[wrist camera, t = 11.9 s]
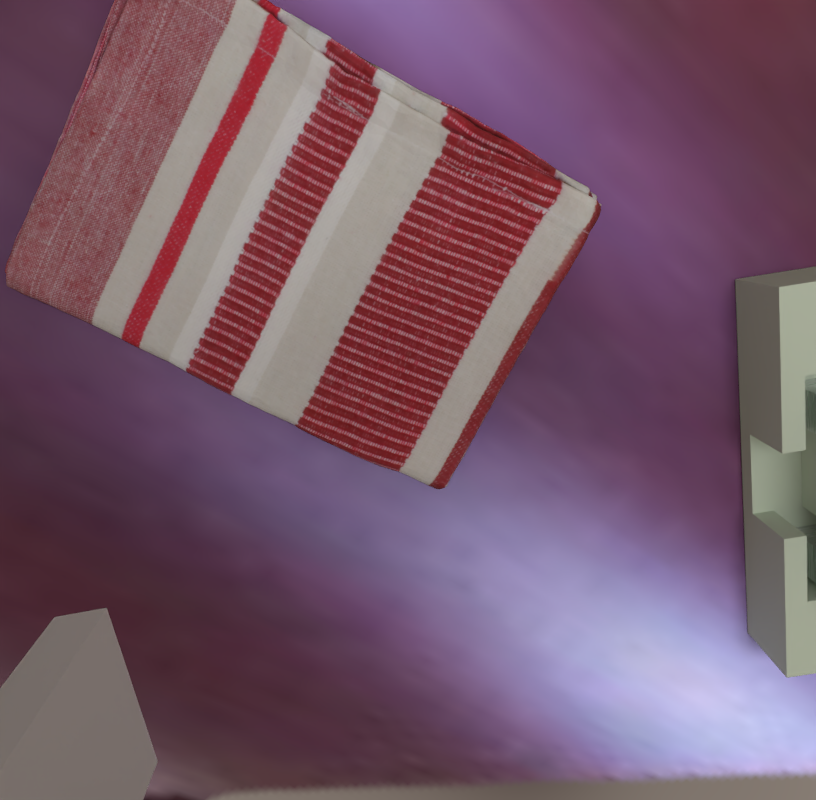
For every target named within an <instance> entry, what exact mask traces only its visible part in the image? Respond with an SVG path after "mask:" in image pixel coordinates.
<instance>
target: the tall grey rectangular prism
mask: <svg viewBox="0 0 816 800" xmlns="http://www.w3.org/2000/svg"><path fill="white" fill-rule="evenodd" d="M805 420H806V429H807V430H809V431H811V432H813V433H815V434H816V378H811V379H805ZM796 528H797V529H799V530H800V531H801V532H802V533H804V534H805V535H806V536H807V576H808V577H809V578H810V579H811V580H812V581H814V582H815V583H816V524H813V525H807V526H801V527H796Z"/></svg>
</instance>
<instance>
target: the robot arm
mask: <svg viewBox="0 0 816 800" xmlns="http://www.w3.org/2000/svg"><path fill="white" fill-rule="evenodd" d="M157 762H158V761H157V758H156V755H155V752H154V749H153V746H152V743H151V740H150V737H149V734H148V731H147V728H146V725H145V722H144V719H143V716H142V713H141V710H140V707H139V704H138V701H137V698H136V695H135V692H134V689H133V686H132V683H131V680H130V677H129V674H128V671H127V668H126V664H125V661H124V658H123V655H122V652H121V649H120V646H119V643H118V640H117V637H116V634H115V631H114V628H113V625H112V622H111V619H110V616H109V613H108V610H107V608H103V609H97V610H92V611H86V612H81V613H75V614H69V615H64V616H58V617H54V618H53V620H52V621H51V622H50V624H49V625H48V626H47V628H46V629H45V630H44V632H43V633H42V634H41V636H40V637H39V638H38V639H37V641H36V642H35V643H34V645H33V646H32V647H31V649H30V650H29V651H28V653H27V654H26V655H25V656H24V658H23V659H22V660H21V662H20V663H19V664H18V666H17V667H16V668H15V670H14V671H13V672H12V674H11V675H10V676H9V677H8V679H7V680H6V681H5V683H4V684H3V685H2V687H1V688H0V800H143V798H144V796H145V793H146V790H147V788H148V785H149V783H150V780H151V777H152V775H153V772H154V769H155V767H156V764H157Z"/></svg>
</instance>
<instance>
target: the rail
mask: <svg viewBox="0 0 816 800" xmlns="http://www.w3.org/2000/svg"><path fill="white" fill-rule="evenodd" d="M735 286H736V314H737V342H738V371H739V399H740V427H741V455H742V483H743V511H744V539H745V568H746V596H747V624H748V634H749V635H750V636H751V637H752V638H753V639H754V640H755V642H756V643H757V644H758V645H759V646H760V647H761V648H762V650H763V651H764V652H765V653H766V654H767V655H768V657H769V658H770V659H771V660H772V661H773V662H774V663H775V665H776V666H777V667H778V668H779V669H780V670H781V672H782V673H783V674H784V675H785V676H786V677H787V678H788V677H794V676H801V675H807V674H814V673H816V583H815V582H814V581H812V580H811V579H810V578H809V577H808V576H807V536H806V535H805V534H804V533H802V532H801V531H800V530H799V529H797V528H796V527H801V526H807V525H813V524H816V434H815V433H813V432H811V431H809V430H807V429H806V420H805V379H811V378H816V266H815V267H809V268H803V269H797V270H790V271H784V272H778V273H772V274H765V275H759V276H753V277H746V278H740V279H735Z"/></svg>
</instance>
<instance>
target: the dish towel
mask: <svg viewBox="0 0 816 800" xmlns="http://www.w3.org/2000/svg"><path fill="white" fill-rule="evenodd" d="M596 199H597V196H596V195H595V194H593V193H591V192H590V189H589V188H588V187H586V186H585V185H583V184H581V183H579V182H577V181H575V180H573V179H571V178H570V177H568V176H566V175H564V174H563V173H561V172H560V171H558V170H557V169H555V168H554V167H552V166H551V165H549V164H548V163H547V162H546V161H544V160H543V159H541V158H539V157H538V156H537V155H535V154H534V153H532V152H531V151H529V150H527V149H526V148H525V147H523V146H522V145H520V144H518V143H517V142H515V141H513V140H511V139H510V138H508V137H507V136H505V135H504V134H502V133H500V132H498V131H496V130H494V129H492V128H490V127H488V126H487V125H484V124H482V123H481V122H480V121H478V120H477V119H475V118H473V117H471V116H470V115H468V114H467V113H465V112H463V111H461V110H460V109H458V108H456V107H454V106H451V105H449V104H446V103H444V102H442V101H440V100H439V99H436V98H434V97H432V96H430V95H428V94H426V93H424V92H422V91H420V90H418V89H416V88H415V87H413V86H411V85H409V84H408V83H406V82H404V81H402V80H401V79H399V78H397V77H395V76H394V75H392V74H390V73H388V72H387V71H385V70H383V69H381V68H380V67H378V66H376V65H374V64H372V63H370V62H368V61H366V60H365V59H363V58H361V57H360V56H358V55H357V54H355V53H354V52H352V51H351V50H349V49H348V48H346V47H344V46H343V45H341V44H340V43H338V42H336V41H335V40H333V39H332V38H331V37H329V36H328V35H326V34H324V33H323V32H321V31H319V30H317V29H315V28H314V27H312V26H310V25H308V24H306V23H305V22H303V21H302V20H300V19H299V18H297V17H295V16H293V15H292V14H290V13H288V12H286V11H284V10H283V9H281V8H279V7H276V6H275V5H273V4H272V3H270V2H269V1H267V0H115V1H114V3H113V5H112V7H111V10H110V13H109V15H108V18H107V20H106V22H105V25H104V27H103V30H102V32H101V35H100V37H99V40H98V43H97V46H96V49H95V51H94V54H93V57H92V60H91V63H90V65H89V68H88V71H87V73H86V76H85V78H84V81H83V83H82V86H81V89H80V91H79V92H78V94H77V96H76V98H75V101H74V104H73V106H72V108H71V110H70V113H69V116H68V119H67V121H66V124H65V126H64V129H63V132H62V135H61V137H60V138H59V140H58V143H57V146H56V148H55V151H54V153H53V156H52V159H51V161H50V164H49V166H48V168H47V170H46V172H45V175H44V177H43V179H42V182H41V184H40V186H39V188H38V190H37V192H36V194H35V197H34V199H33V202H32V204H31V206H30V209H29V211H28V214H27V216H26V218H25V221H24V223H23V225H22V227H21V229H20V231H19V233H18V235H17V237H16V239H15V242H14V245H13V249H12V252H11V254H10V256H9V259H8V261H7V264H6V269H5V273H6V284H7V286H8V287H10V288H12V289H15V290H17V291H18V292H20V293H22V294H24V295H27V296H29V297H32V298H34V299H37V300H39V301H41V302H43V303H45V304H48V305H51V306H53V307H55V308H57V309H59V310H61V311H63V312H65V313H68V314H70V315H72V316H74V317H77V318H79V319H81V320H83V321H85V322H87V323H90V324H92V325H94V326H96V327H98V328H100V329H102V330H104V331H106V332H108V333H110V334H112V335H114V336H117V337H119V338H121V339H123V340H124V341H126V342H128V343H130V344H132V345H134V346H136V347H138V348H140V349H143V350H145V351H147V352H149V353H151V354H153V355H155V356H157V357H159V358H162V359H164V360H166V361H168V362H170V363H172V364H174V365H175V366H177V367H179V368H181V369H183V370H184V371H186V372H188V373H190V374H191V375H193V376H195V377H197V378H199V379H201V380H203V381H204V382H206V383H208V384H210V385H212V386H214V387H216V388H218V389H220V390H222V391H224V392H226V393H228V394H230V395H233V396H235V397H237V398H239V399H241V400H243V401H244V402H246V403H248V404H250V405H253V406H255V407H257V408H259V409H261V410H263V411H265V412H267V413H270V414H272V415H274V416H276V417H278V418H280V419H283V420H285V421H287V422H289V423H292V424H294V425H295V426H296V427H298V428H300V429H301V430H303V431H305V432H307V433H309V434H311V435H313V436H315V437H317V438H319V439H321V440H323V441H326V442H328V443H330V444H332V445H334V446H336V447H338V448H340V449H343V450H345V451H347V452H349V453H351V454H353V455H355V456H357V457H359V458H362V459H364V460H366V461H369V462H372V463H374V464H377V465H379V466H382V467H385V468H388V469H391V470H395V471H399V472H401V473H403V474H406V475H408V476H410V477H412V478H414V479H416V480H418V481H420V482H422V483H425V484H427V485H429V486H431V487H434V488H436V489H442V488H445V487H446V486H447V485H448V483H449V481H450V478H451V477H452V475H453V473H454V471H455V469H456V468H457V466H458V464H459V463H460V461H461V460H462V458H463V457H464V455H465V453H466V451H467V449H468V447H469V445H470V443H471V441H472V440H473V438H474V436H475V435H476V433H477V431H478V429H479V427H480V425H481V424H482V422H483V420H484V418H485V416H486V414H487V413H488V411H489V409H490V407H491V405H492V404H493V402H494V400H495V398H496V396H497V394H498V393H499V391H500V389H501V387H502V385H503V384H504V382H505V380H506V378H507V377H508V375H509V373H510V371H511V370H512V368H513V366H514V364H515V362H516V360H517V358H518V356H519V355H520V353H521V352H522V350H523V349H524V347H525V345H526V344H527V342H528V339H529V337H530V335H531V334H532V332H533V330H534V328H535V327H536V325H537V323H538V322H539V320H540V318H541V316H542V314H543V313H544V312H545V310H546V308H547V306H548V304H549V303H550V301H551V299H552V297H553V295H554V293H555V292H556V290H557V288H558V287H559V285H560V283H561V282H562V280H563V279H564V278H565V276H566V275H567V273H568V271H569V270H570V268H571V266H572V264H573V263H574V261H575V259H576V257H577V256H578V254H579V252H580V251H581V249H582V247H583V245H584V243H585V241H586V239H587V237H588V234H589V232H590V231H591V229H592V228H593V226H594V224H595V223H596V221H597V219H598V217H599V215H600V212H601V204H599V203H598V201H597V200H596Z"/></svg>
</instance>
